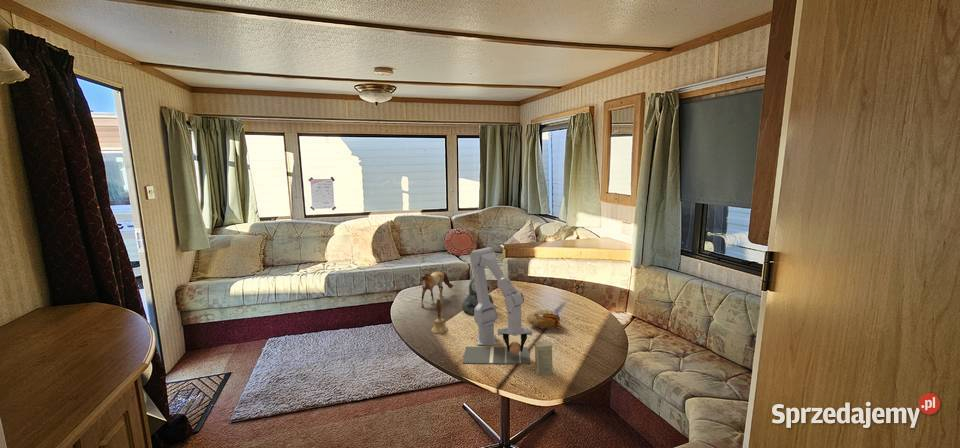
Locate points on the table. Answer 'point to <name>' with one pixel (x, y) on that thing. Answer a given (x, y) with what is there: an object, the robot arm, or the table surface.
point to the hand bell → (439, 321)
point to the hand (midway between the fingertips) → (515, 350)
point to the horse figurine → (434, 283)
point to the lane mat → (495, 356)
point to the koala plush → (472, 298)
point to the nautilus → (544, 319)
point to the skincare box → (543, 358)
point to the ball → (515, 347)
